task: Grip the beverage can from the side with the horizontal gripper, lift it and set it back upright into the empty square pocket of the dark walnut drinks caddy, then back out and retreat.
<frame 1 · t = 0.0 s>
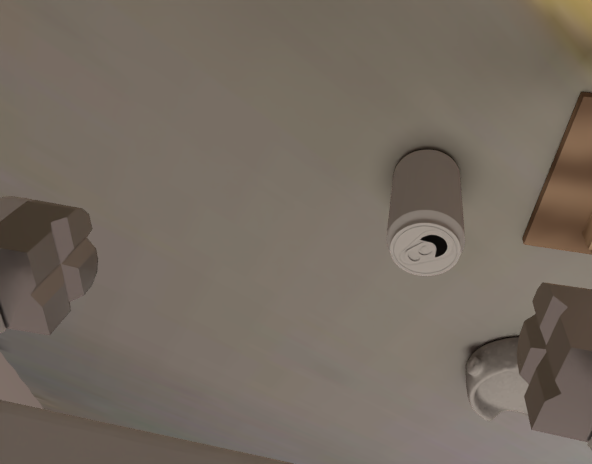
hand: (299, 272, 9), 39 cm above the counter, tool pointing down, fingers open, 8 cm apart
dish: (522, 365, 66), on the counter
beverage can: (426, 173, 52), on the counter
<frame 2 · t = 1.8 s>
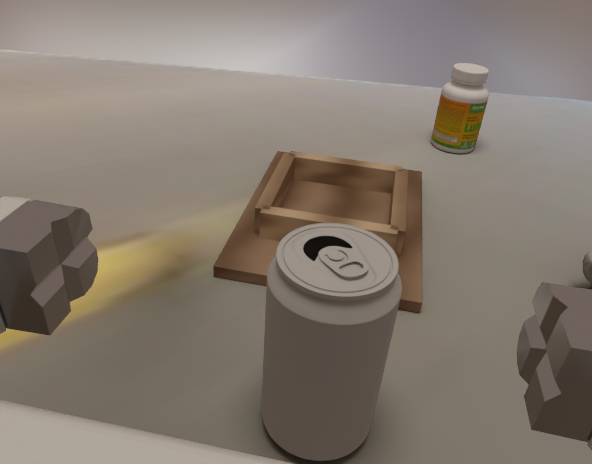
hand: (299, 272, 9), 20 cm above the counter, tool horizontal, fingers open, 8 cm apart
beverage can: (315, 421, 31), on the counter
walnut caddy: (333, 220, 49), on the counter
supplement bottle: (451, 146, 66), on the counter
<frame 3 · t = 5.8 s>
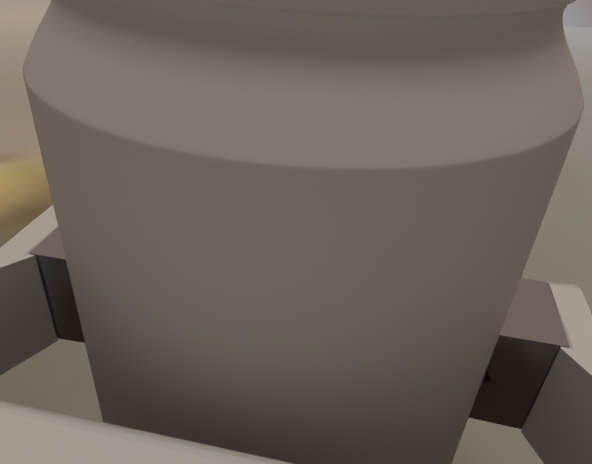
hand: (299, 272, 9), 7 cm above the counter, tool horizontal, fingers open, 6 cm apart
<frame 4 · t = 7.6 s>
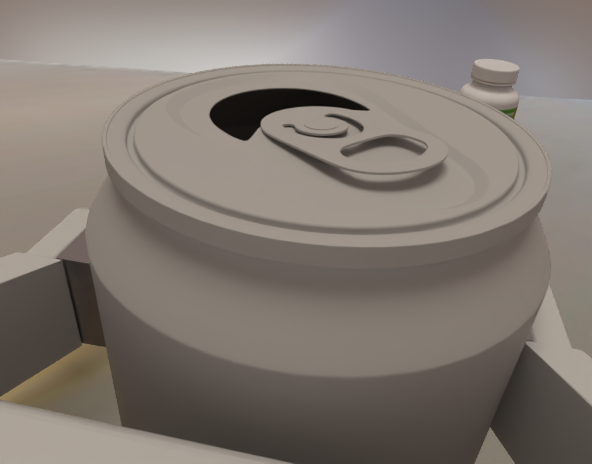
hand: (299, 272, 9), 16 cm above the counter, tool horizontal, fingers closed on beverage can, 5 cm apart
supplement bottle: (471, 163, 53), on the counter
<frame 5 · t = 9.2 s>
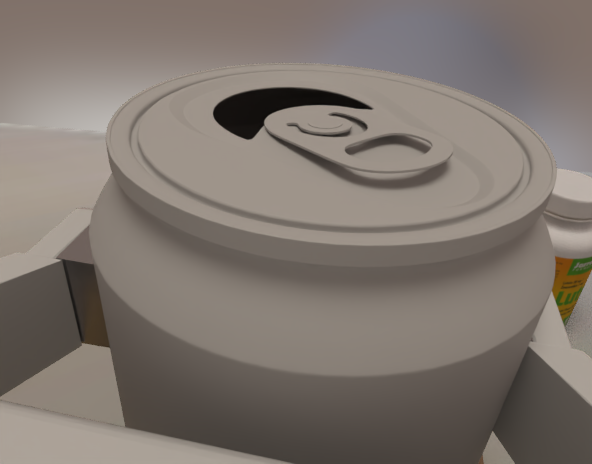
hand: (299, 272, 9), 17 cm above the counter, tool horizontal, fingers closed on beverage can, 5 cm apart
supplement bottle: (520, 314, 35), on the counter
when the fingers open (9 cm above the counter, at t = 11.4 s): beverage can stays where it is, resting on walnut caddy.
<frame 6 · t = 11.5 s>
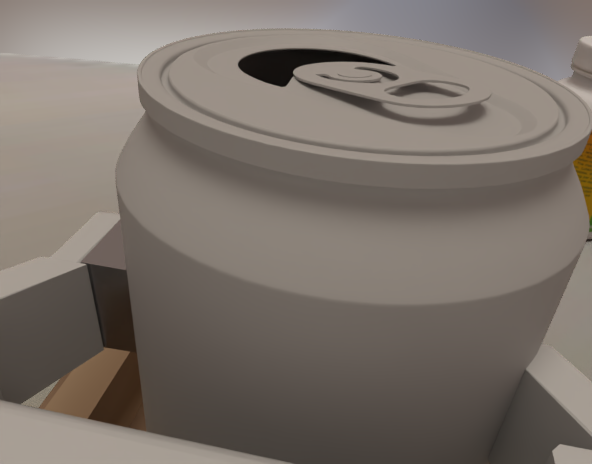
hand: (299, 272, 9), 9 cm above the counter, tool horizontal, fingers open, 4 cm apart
supplement bottle: (556, 219, 30), on the counter
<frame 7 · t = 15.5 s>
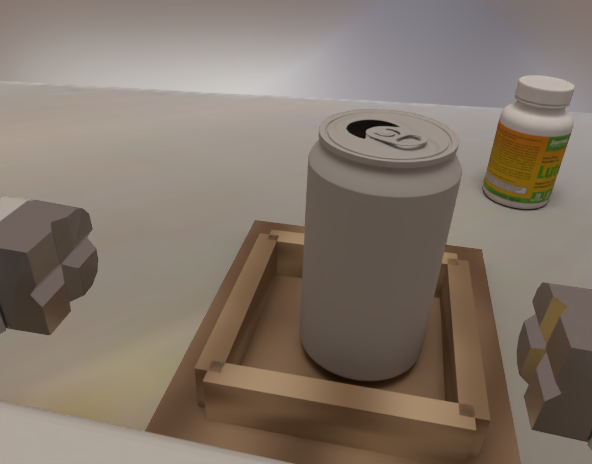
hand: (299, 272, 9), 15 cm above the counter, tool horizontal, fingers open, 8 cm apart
beverage can: (359, 347, 28), point 1 cm above the counter, touching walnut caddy
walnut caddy: (345, 356, 28), on the counter
supplement bottle: (513, 197, 45), on the counter
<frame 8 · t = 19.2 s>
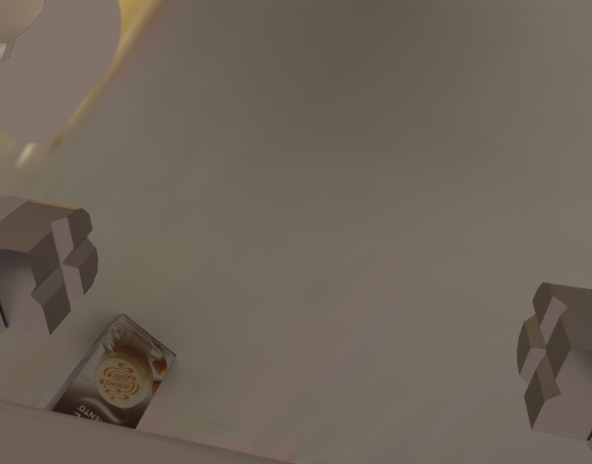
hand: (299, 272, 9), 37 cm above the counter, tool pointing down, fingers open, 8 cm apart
coffee box: (138, 343, 68), on the counter
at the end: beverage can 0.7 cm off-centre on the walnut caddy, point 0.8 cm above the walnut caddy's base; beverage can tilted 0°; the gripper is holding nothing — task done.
